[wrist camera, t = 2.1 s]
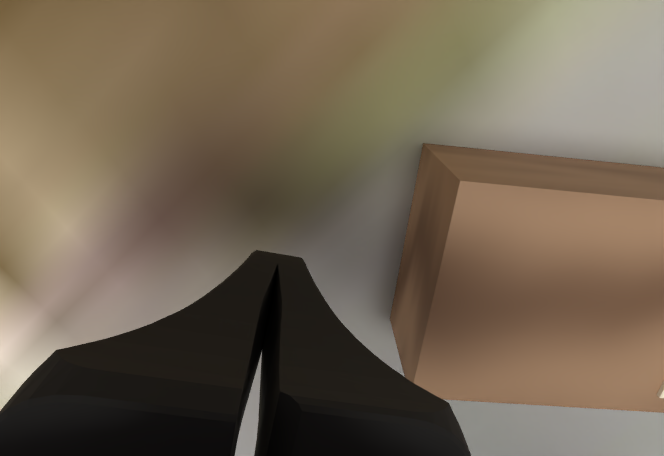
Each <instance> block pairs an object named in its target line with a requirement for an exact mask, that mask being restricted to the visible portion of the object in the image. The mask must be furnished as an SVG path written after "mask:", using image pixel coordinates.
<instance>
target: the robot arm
mask: <svg viewBox="0 0 664 456" xmlns="http://www.w3.org/2000/svg"><path fill="white" fill-rule="evenodd" d="M261 352H262V363H261V382H260V403H259V422H258V433H257V441H256V448H255V455H254V456H471V454H470V451H469V449H468V446H467V443H466V440H465V438H464V435H463V433H462V430H461V428H460V425H459V423H458V421H457V419H456V417H455V415H454V413H453V411H452V409H451V407H450V405H449V403H448V402H446V401H444V400H442V399H441V398H439V397H437V396H435V395H434V394H432V393H430V392H428V391H427V390H425V389H423V388H421V387H420V386H418V385H416V384H414V383H413V382H411V381H410V380H408V379H407V378H405V377H404V376H402V375H401V374H399V373H398V372H396V371H395V370H394V369H392V368H391V367H389V366H388V365H387V364H385V363H384V362H383V361H381V360H380V359H379V358H378V357H377V356H375V355H374V354H373V353H372V352H371V351H370V350H368V349H367V348H366V347H365V346H364V345H363V344H362V343H361V342H360V341H358V340H357V339H356V338H355V337H354V336H353V334H352V333H351V332H350V331H349V330H348V329H347V328H346V327H345V326H344V325H343V324H342V323H341V321H340V320H339V319H338V318H337V317H336V315H335V314H334V313H333V311H332V310H331V308H330V307H329V305H328V304H327V302H326V301H325V299H324V298H323V296H322V295H321V293H320V291H319V290H318V288H317V286H316V284H315V283H314V281H313V279H312V277H311V275H310V273H309V271H308V269H307V266H306V264H305V262H304V260H303V259H302V258H300V257H294V256H288V255H282V254H276V253H270V252H264V251H258V250H256V251H254V252H253V253H251V255H250V256H249V257H248V258H247V260H246V261H245V262H244V263H243V264H242V265H241V266H240V267H239V268H238V269H237V270H236V271H235V272H233V273H232V274H231V275H230V276H229V277H228V278H227V279H226V280H224V281H223V282H222V283H221V284H219V285H218V286H217V287H215V288H214V289H213V290H211V291H210V292H209V293H207V294H206V295H205V296H203V297H202V298H200V299H199V300H197V301H196V302H194V303H193V304H191V305H189V306H188V307H186V308H184V309H182V310H180V311H178V312H176V313H174V314H172V315H170V316H167V317H165V318H163V319H161V320H158V321H156V322H154V323H152V324H149V325H147V326H144V327H141V328H138V329H136V330H133V331H130V332H127V333H124V334H120V335H117V336H114V337H110V338H107V339H103V340H99V341H95V342H90V343H86V344H82V345H77V346H73V347H69V348H64V349H59V350H56V351H55V352H54V353H53V354H52V355H51V356H50V357H49V358H48V359H47V360H46V361H45V362H44V363H43V364H41V365H40V366H39V367H38V368H37V369H36V370H35V371H34V372H33V373H32V375H31V376H30V377H29V378H28V379H27V380H26V381H25V382H24V383H23V384H22V386H21V387H20V388H19V389H18V390H17V392H16V393H15V394H14V395H13V396H12V398H11V399H10V400H9V401H8V402H7V404H6V405H5V406H4V407H3V408H2V410H1V411H0V456H234V455H235V450H236V444H237V439H238V434H239V430H240V426H241V422H242V418H243V414H244V411H245V407H246V404H247V400H248V397H249V393H250V390H251V387H252V383H253V380H254V376H255V373H256V369H257V366H258V362H259V359H260V355H261Z"/></svg>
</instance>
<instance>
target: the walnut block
mask: <svg viewBox="0 0 664 456" xmlns="http://www.w3.org/2000/svg"><path fill="white" fill-rule="evenodd" d="M390 321H391V325H392V329H393V333H394V337H395V340H396V344H397V348H398V352H399V356H400V360H401V364H402V367H403V371H404V375H405V378H407V379H408V380H410V381H411V382H413V383H414V384H416V385H418V386H420V387H421V388H423V389H425V390H427V391H428V392H430V393H432V394H434V395H435V396H437V397H439V398H441V399H447V400H463V401H480V402H497V403H513V404H530V405H546V406H563V407H580V408H596V409H613V410H629V411H646V412H663V413H664V168H661V167H651V166H641V165H631V164H622V163H612V162H602V161H592V160H582V159H573V158H563V157H553V156H543V155H533V154H523V153H514V152H504V151H494V150H484V149H474V148H465V147H455V146H445V145H435V144H425V143H423V147H422V153H421V158H420V163H419V168H418V174H417V179H416V184H415V189H414V195H413V200H412V205H411V211H410V216H409V221H408V226H407V232H406V237H405V242H404V247H403V253H402V258H401V263H400V268H399V274H398V279H397V284H396V290H395V295H394V300H393V305H392V311H391V316H390Z"/></svg>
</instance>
